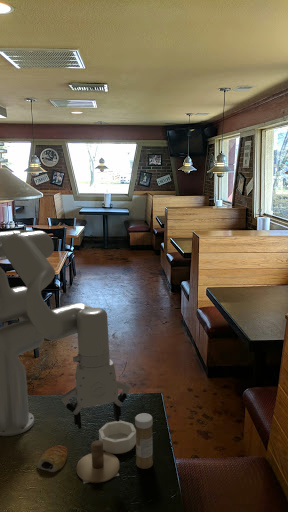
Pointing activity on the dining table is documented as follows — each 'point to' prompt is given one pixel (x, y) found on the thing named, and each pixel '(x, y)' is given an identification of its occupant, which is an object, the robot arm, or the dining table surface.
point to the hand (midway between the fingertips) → (98, 422)
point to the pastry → (53, 458)
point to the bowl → (117, 437)
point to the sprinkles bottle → (144, 440)
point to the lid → (97, 465)
